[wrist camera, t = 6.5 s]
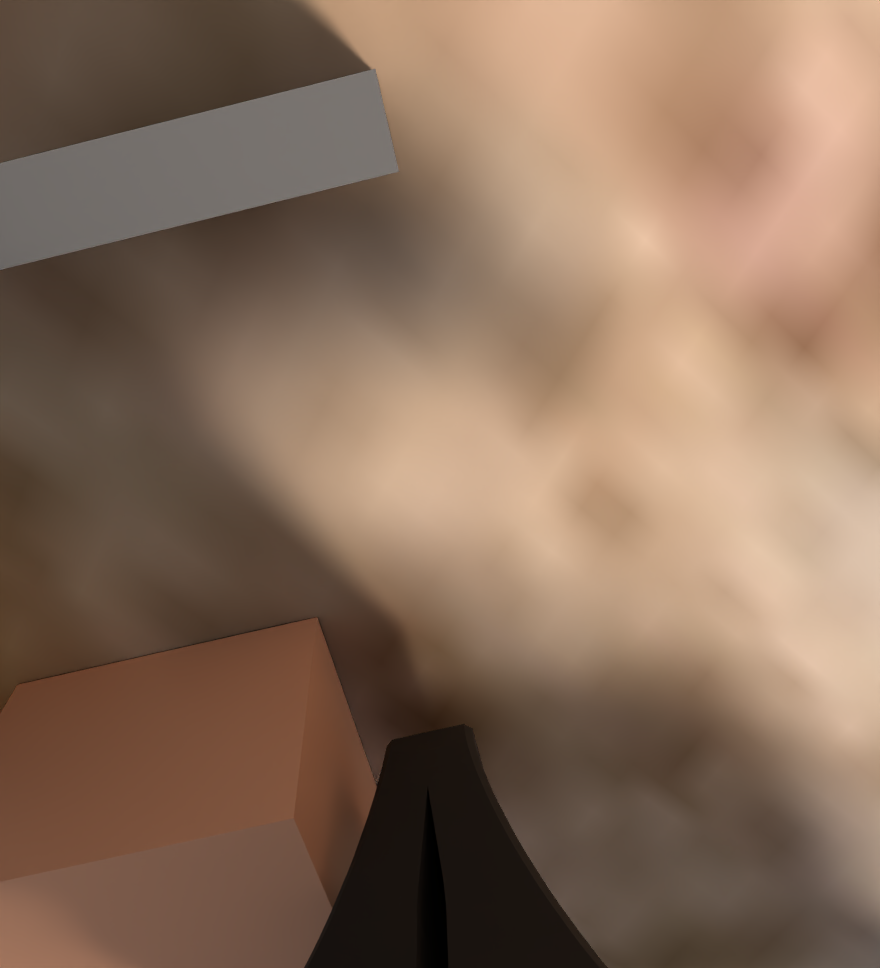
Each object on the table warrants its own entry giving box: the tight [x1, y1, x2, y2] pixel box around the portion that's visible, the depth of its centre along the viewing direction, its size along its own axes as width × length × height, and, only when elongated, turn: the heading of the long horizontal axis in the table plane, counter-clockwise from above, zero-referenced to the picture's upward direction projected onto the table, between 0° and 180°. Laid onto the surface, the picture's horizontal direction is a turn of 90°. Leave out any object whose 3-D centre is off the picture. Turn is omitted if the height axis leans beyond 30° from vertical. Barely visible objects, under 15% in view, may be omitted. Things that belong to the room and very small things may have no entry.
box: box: [0, 69, 399, 270], centre depth 13 cm, size 20×11×4 cm, turn 13°
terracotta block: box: [0, 617, 377, 968], centre depth 12 cm, size 5×5×4 cm
